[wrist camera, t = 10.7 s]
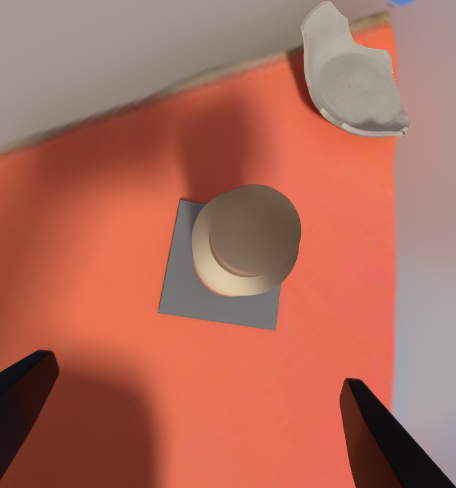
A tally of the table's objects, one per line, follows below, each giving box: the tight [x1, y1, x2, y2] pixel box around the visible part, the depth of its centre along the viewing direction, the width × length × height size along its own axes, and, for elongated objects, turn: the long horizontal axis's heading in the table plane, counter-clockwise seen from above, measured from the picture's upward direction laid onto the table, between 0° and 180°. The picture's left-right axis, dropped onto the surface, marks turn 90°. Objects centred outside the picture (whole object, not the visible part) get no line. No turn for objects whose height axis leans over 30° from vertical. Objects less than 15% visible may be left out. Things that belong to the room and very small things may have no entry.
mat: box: [158, 200, 281, 330], centre depth 23 cm, size 9×9×1 cm
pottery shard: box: [301, 1, 410, 138], centre depth 24 cm, size 10×11×5 cm
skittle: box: [192, 184, 301, 297], centre depth 16 cm, size 5×5×12 cm
